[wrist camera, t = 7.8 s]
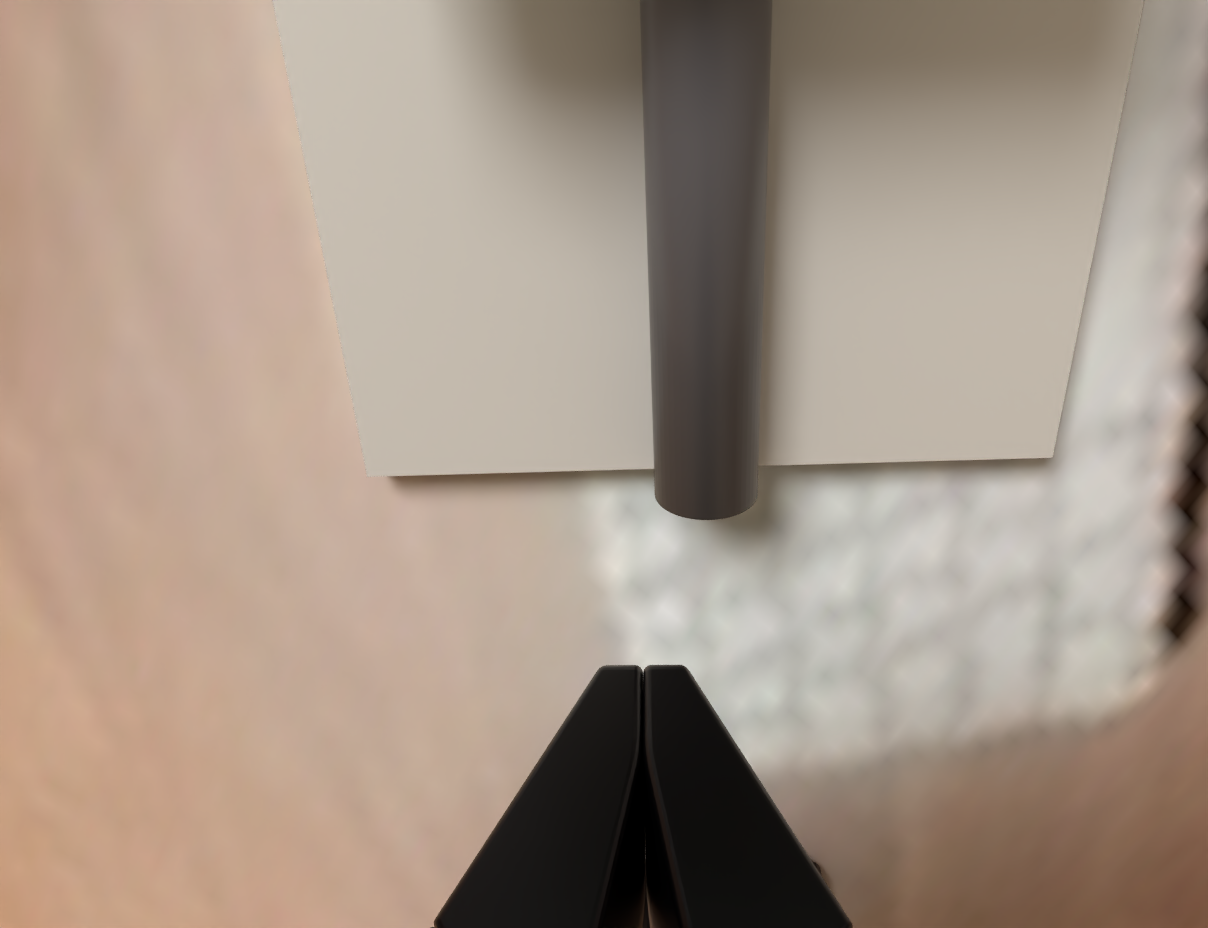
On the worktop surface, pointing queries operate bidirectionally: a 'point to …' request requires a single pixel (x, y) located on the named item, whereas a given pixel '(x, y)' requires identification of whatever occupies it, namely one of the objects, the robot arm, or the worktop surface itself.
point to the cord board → (562, 235)
